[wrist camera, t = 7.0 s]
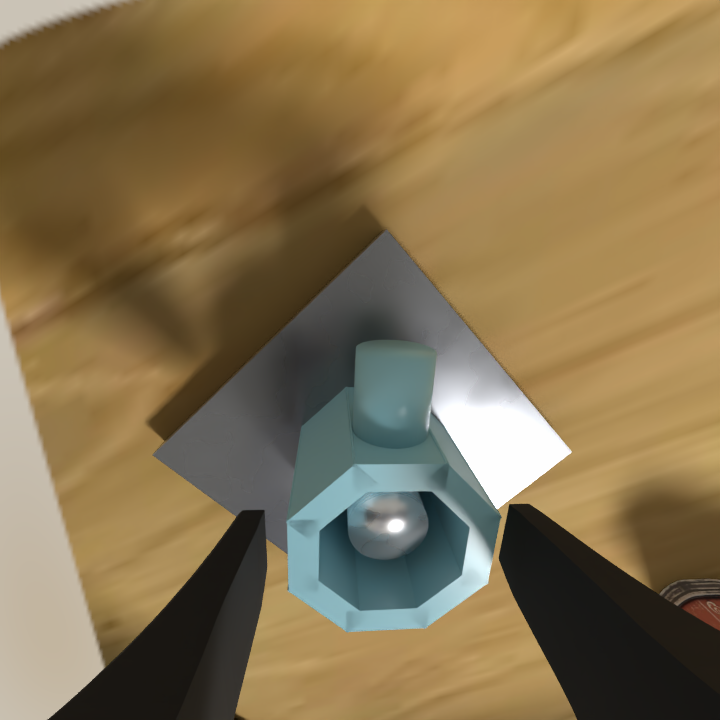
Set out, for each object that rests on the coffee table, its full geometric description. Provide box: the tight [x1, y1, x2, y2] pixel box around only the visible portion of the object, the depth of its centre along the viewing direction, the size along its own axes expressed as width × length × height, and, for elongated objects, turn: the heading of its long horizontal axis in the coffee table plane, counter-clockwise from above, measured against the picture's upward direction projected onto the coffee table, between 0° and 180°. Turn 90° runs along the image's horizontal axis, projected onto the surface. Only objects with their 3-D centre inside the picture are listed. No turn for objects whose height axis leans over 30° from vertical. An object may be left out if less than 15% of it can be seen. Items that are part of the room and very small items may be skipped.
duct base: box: [153, 230, 572, 560], centre depth 13 cm, size 12×12×5 cm
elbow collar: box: [286, 340, 502, 632], centre depth 12 cm, size 8×6×5 cm
